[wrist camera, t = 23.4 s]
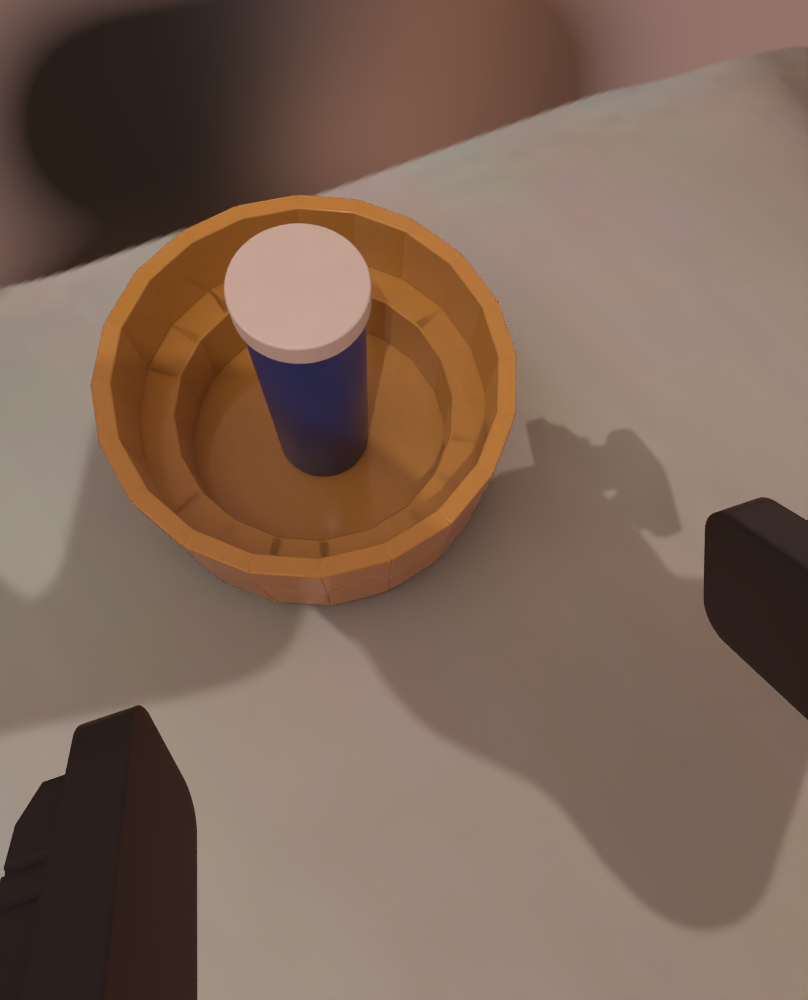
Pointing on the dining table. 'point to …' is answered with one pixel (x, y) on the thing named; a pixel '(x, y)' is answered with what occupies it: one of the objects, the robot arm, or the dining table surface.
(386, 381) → the bowl
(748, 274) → the dining table surface
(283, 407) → the vial
